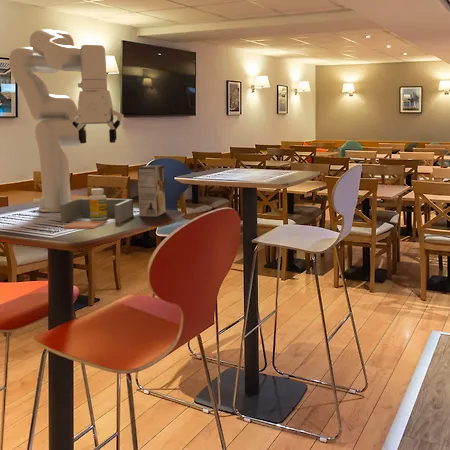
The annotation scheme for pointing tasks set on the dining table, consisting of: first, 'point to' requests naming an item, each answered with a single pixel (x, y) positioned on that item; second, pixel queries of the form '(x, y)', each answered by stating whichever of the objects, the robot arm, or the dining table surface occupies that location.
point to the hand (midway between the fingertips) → (97, 142)
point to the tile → (84, 224)
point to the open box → (82, 208)
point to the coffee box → (151, 190)
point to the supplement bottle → (98, 204)
